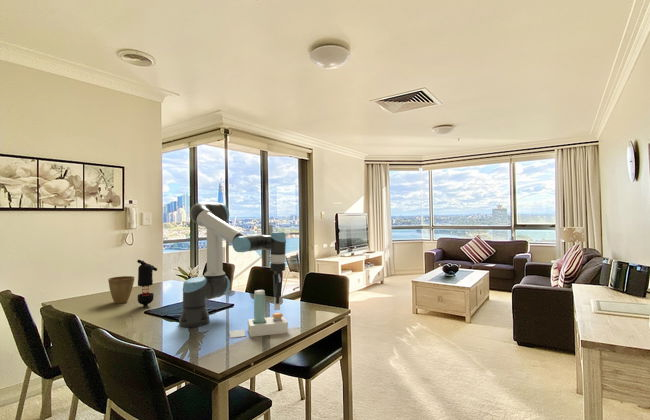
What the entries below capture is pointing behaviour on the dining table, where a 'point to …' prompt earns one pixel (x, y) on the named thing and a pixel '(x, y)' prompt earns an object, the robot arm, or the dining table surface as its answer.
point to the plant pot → (121, 288)
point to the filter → (145, 282)
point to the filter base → (267, 327)
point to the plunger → (277, 316)
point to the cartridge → (259, 307)
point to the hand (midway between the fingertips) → (276, 309)
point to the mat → (237, 333)
